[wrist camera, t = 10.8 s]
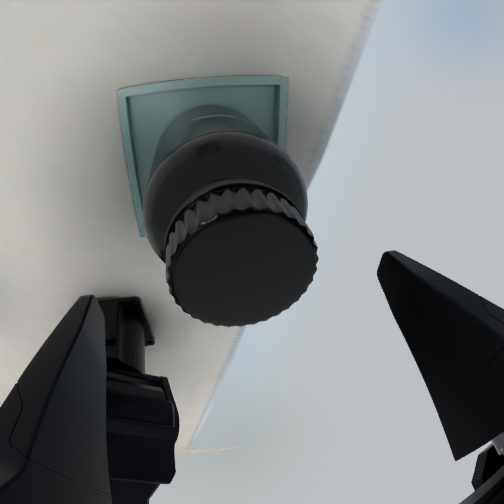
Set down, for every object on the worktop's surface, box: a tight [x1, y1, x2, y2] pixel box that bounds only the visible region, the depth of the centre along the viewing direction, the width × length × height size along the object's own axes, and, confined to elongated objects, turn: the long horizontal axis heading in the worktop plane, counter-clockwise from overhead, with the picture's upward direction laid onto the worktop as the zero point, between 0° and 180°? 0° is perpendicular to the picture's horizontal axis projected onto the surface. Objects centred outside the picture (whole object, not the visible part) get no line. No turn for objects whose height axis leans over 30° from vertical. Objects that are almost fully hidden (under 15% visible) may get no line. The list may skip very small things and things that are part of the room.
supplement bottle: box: [143, 105, 318, 327], centre depth 14 cm, size 7×7×12 cm
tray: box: [116, 76, 288, 237], centre depth 18 cm, size 10×10×2 cm
